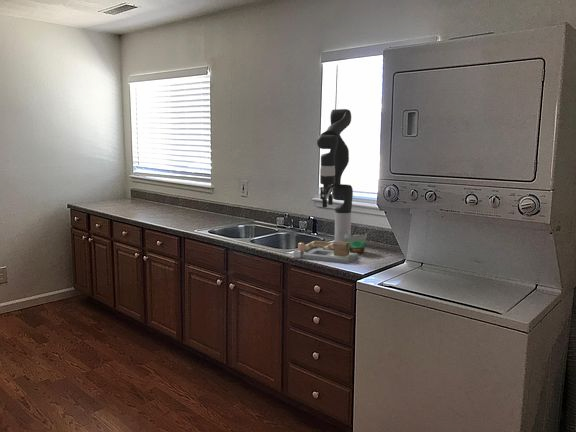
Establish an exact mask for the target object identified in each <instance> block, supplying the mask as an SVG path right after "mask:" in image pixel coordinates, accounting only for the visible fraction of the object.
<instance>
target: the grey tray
mask: <svg viewBox="0 0 576 432" xmlns="http://www.w3.org/2000/svg"><path fill="white" fill-rule="evenodd" d="M358 257H359V254H358V253H351V252H349V254H348V255H347V256H336V255H334V249H332V250H324V249H323V248H311V249H309V250H307V252H306V251H305V252H304V254H303V255H302V259H306V260H314V261H322V262H331V263H340V264H350V263H351V262H352V261H354V260H356V259H357V258H358Z"/></svg>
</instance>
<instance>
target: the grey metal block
mask: <svg viewBox="0 0 576 432" xmlns="http://www.w3.org/2000/svg"><path fill="white" fill-rule="evenodd" d="M301 258H302V255H301V250H298V249H294V250H293V259H301Z"/></svg>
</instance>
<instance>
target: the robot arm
mask: <svg viewBox="0 0 576 432" xmlns="http://www.w3.org/2000/svg"><path fill="white" fill-rule="evenodd" d="M329 118H330V125H329V126H328V127H327V129H326V131H324V132H322V133H321V134H319V136H318V137H317V139H316V145H317V147H318V148H319V149H322V150H329V152H327V153H323V154H321V156H320V171H319V172H320V173H319V174H320V177H319V182H320V183H319V184H321V185H323V186H322V187H320V196H319V197H320V200H321V201H322V204H321V205H322V208H327V207H328V205H330V206H332V205H333V203H334V201H333V200H335V201H343V204H341V205H338V206H336V207H334V208H335V209H334V243H336V242H338V241H341V242H346V238H344V237H345V234H347V235H351V234H352V233H351V231H352V228H351V227H352V208H353V197H354V192H353V191H354V190H353V186H352V185H351V184H343V183H341V179H342V176H343V174H344V172H345V170H346V168H347V166H348V165H349V161H350V152H349V151H350V149H349V148H348V146H347V144H346V142H345V141H344V140H343V138H342V136H341V133H343V131H344V130H346V128H348V127H349V126H350V125H351V122H352V112H351V110H349V109H346V108H343V109H341V108H339V109H332V110H331V111H330V117H329Z"/></svg>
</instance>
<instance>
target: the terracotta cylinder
mask: <svg viewBox="0 0 576 432" xmlns="http://www.w3.org/2000/svg"><path fill="white" fill-rule="evenodd" d="M304 245H305V243H304V242H298V243H297V250H301V256H303V254H304V253H305V251H304Z"/></svg>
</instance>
